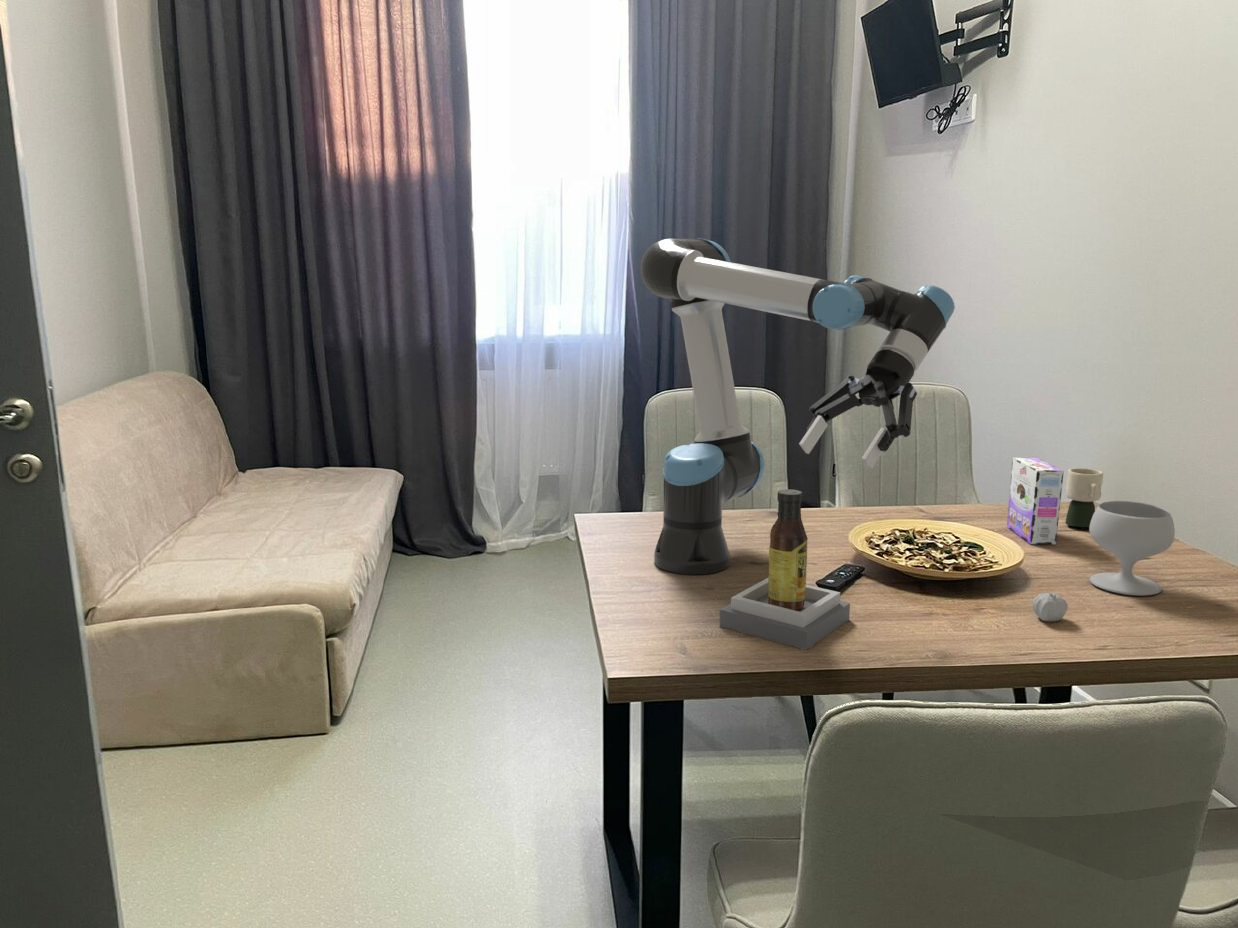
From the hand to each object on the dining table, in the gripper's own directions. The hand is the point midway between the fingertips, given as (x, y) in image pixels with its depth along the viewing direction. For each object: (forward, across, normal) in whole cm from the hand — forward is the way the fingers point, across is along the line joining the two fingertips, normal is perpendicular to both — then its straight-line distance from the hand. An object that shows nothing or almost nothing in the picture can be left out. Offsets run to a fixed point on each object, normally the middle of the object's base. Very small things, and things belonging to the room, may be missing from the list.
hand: (834, 456), depth 164 cm
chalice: (-19, -27, -57) cm, 66 cm away
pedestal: (+27, 0, -12) cm, 29 cm away
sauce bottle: (+25, 0, -10) cm, 27 cm away
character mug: (-41, -2, -79) cm, 89 cm away
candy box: (-30, +1, -69) cm, 75 cm away
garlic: (0, -27, -38) cm, 47 cm away
